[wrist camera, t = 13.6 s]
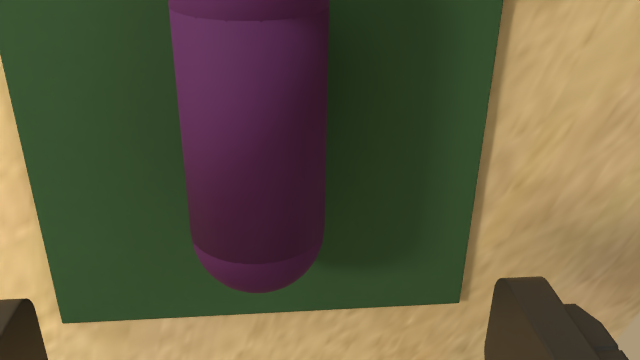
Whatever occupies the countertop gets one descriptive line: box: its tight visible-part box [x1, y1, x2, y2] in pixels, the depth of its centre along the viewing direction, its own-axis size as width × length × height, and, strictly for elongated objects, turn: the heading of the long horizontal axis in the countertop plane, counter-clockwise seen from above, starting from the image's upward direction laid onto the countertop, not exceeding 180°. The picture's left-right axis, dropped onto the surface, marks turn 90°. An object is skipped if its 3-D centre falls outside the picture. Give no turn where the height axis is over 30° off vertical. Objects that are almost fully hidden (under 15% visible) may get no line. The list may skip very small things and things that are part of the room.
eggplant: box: [168, 0, 329, 293], centre depth 18 cm, size 4×13×4 cm, turn 179°
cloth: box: [0, 0, 503, 323], centre depth 21 cm, size 16×18×1 cm
